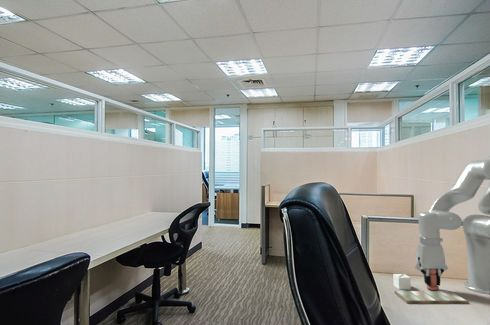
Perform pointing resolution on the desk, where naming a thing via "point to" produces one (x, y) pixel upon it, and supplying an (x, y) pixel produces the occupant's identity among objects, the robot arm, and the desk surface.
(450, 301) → the board
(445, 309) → the desk surface
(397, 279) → the die
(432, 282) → the pawn
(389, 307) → the desk surface
